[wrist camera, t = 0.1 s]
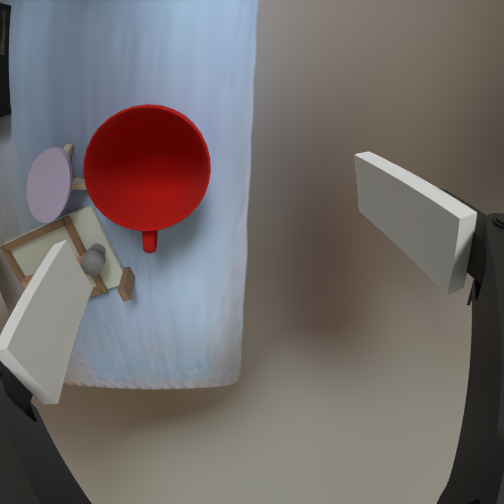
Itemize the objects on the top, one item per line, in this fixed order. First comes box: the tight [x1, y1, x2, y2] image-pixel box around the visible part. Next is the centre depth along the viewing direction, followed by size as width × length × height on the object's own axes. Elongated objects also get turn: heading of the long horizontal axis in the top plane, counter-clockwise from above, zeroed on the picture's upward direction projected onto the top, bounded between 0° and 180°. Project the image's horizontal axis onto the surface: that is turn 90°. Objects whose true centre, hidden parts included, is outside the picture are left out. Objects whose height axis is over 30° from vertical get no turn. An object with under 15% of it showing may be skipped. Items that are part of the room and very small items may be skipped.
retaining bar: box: [21, 248, 105, 290], centre depth 38 cm, size 15×3×2 cm, turn 103°
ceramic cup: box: [83, 104, 211, 253], centre depth 34 cm, size 13×17×10 cm
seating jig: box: [1, 204, 135, 302], centre depth 40 cm, size 13×19×6 cm
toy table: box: [26, 143, 87, 223], centre depth 33 cm, size 10×9×6 cm
